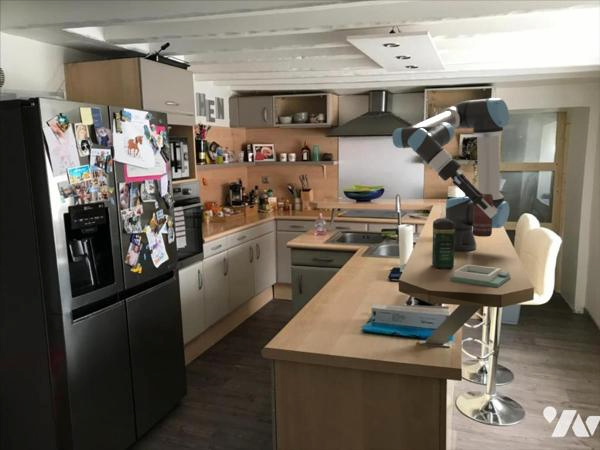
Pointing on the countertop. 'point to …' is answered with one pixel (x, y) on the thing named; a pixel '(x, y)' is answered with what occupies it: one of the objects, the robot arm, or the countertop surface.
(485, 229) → the can
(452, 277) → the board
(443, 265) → the coffee jar
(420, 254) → the countertop surface
